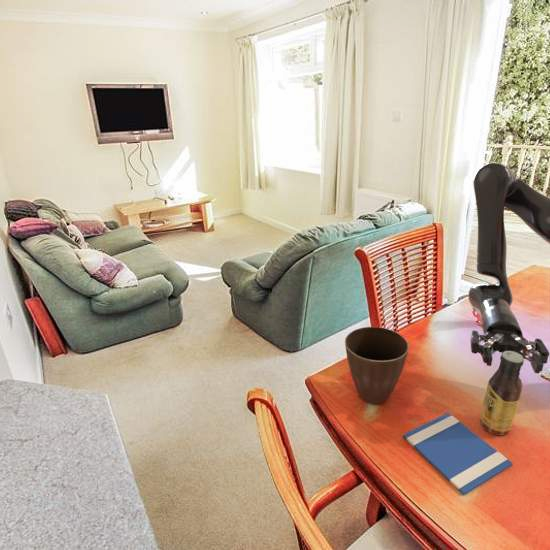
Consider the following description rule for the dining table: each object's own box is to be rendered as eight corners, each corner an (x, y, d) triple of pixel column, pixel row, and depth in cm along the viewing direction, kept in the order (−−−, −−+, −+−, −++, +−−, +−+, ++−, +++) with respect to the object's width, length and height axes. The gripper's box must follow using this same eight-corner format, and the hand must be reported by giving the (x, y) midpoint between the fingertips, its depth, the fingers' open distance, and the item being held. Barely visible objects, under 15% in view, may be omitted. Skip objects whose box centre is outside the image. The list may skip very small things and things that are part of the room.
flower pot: (368, 424, 88) (371, 368, 81) (332, 387, 100) (333, 336, 94) (416, 402, 93) (422, 349, 87) (376, 370, 106) (380, 321, 100)
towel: (447, 414, 89) (448, 412, 89) (512, 465, 76) (513, 462, 76) (402, 436, 84) (403, 434, 84) (463, 495, 71) (464, 493, 70)
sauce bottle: (477, 413, 89) (492, 343, 81) (508, 420, 87) (526, 348, 79) (480, 434, 83) (496, 360, 76) (513, 441, 81) (533, 366, 73)
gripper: (469, 308, 91) (477, 345, 77) (538, 316, 86) (560, 356, 72) (465, 335, 94) (471, 374, 80) (531, 343, 89) (550, 387, 75)
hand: (513, 366), depth 76 cm, fingers open, 8 cm apart
